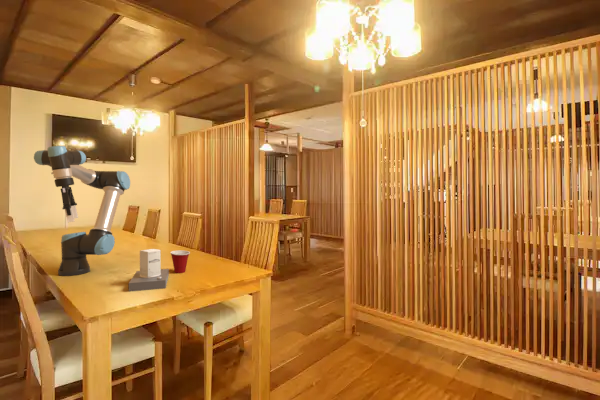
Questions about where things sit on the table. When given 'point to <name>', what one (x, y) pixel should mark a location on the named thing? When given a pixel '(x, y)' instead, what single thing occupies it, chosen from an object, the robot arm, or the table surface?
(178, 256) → the plastic cup
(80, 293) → the table surface
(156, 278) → the grey base plate
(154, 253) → the supplement box
